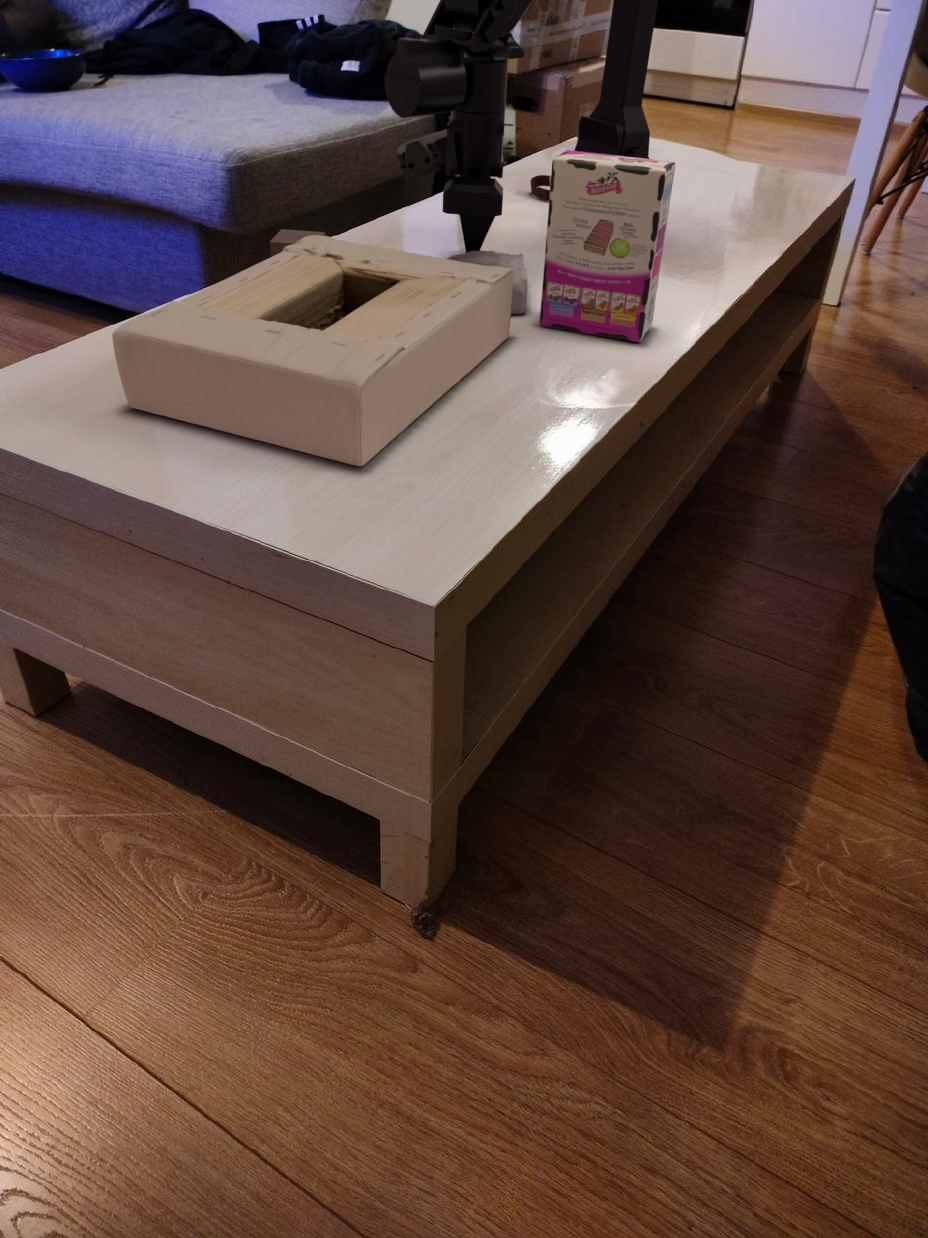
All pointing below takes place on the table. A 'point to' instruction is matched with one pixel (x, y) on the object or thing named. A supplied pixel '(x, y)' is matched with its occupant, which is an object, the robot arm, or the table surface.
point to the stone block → (507, 262)
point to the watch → (541, 181)
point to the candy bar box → (604, 243)
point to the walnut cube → (288, 239)
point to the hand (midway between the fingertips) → (471, 258)
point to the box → (317, 346)
